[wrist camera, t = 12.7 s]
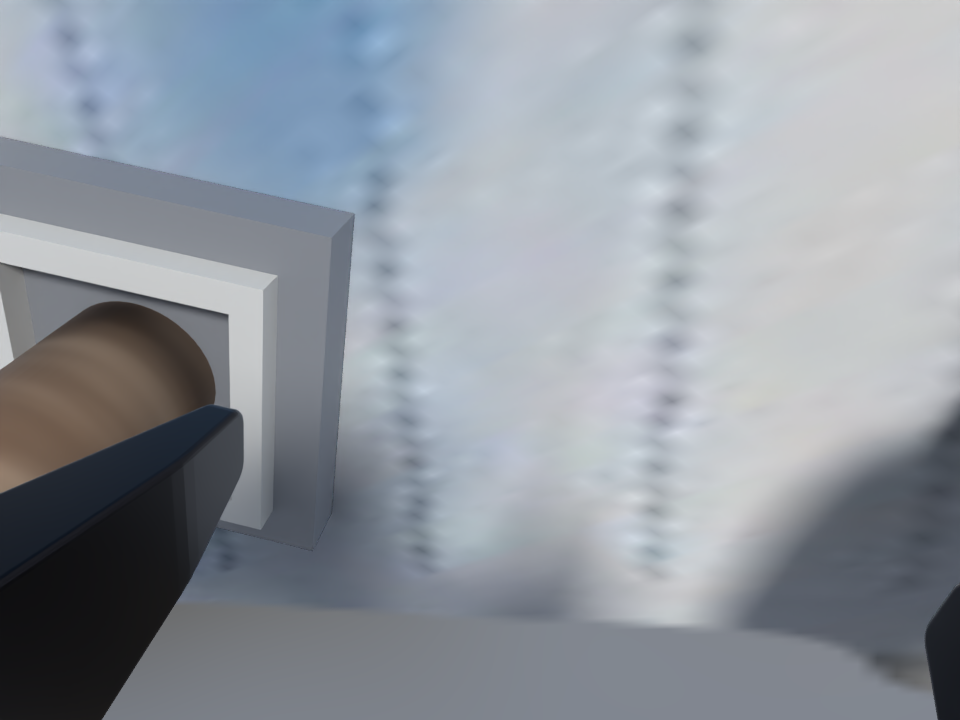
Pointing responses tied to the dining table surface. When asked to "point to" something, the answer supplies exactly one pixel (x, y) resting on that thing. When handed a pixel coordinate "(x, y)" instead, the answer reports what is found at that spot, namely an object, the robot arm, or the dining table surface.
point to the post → (96, 388)
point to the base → (196, 304)
